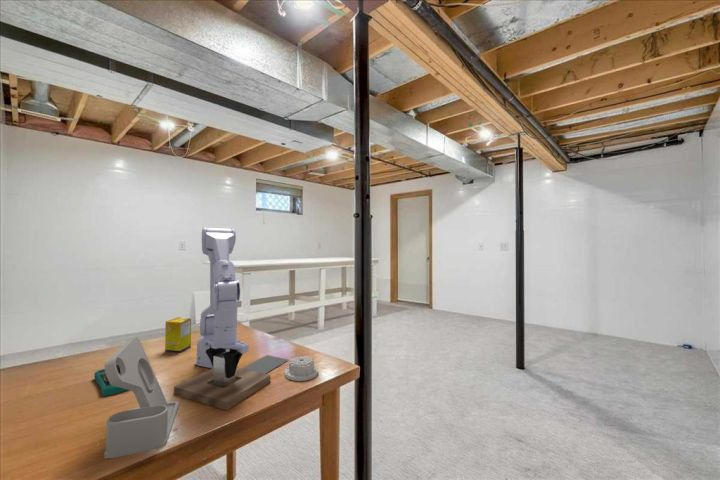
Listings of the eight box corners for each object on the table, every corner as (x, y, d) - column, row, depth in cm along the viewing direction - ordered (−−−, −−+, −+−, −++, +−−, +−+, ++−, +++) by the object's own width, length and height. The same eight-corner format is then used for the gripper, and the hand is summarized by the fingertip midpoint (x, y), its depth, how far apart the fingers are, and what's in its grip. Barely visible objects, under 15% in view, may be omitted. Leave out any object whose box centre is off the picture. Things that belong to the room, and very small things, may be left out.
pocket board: (173, 394, 79) (173, 386, 79) (222, 370, 94) (223, 363, 94) (226, 410, 72) (226, 401, 72) (270, 381, 87) (270, 374, 87)
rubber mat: (236, 371, 93) (236, 370, 93) (267, 356, 106) (267, 355, 106) (260, 377, 89) (260, 376, 89) (288, 360, 102) (288, 359, 102)
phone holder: (165, 448, 59) (167, 355, 59) (99, 462, 55) (101, 362, 55) (179, 403, 75) (181, 330, 75) (129, 411, 71) (131, 334, 71)
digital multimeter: (103, 399, 77) (103, 387, 77) (93, 380, 86) (94, 369, 86) (138, 389, 82) (139, 378, 82) (125, 372, 92) (126, 362, 92)
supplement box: (176, 346, 113) (177, 317, 113) (191, 347, 113) (192, 317, 113) (164, 352, 107) (164, 321, 107) (179, 353, 107) (180, 322, 107)
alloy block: (212, 389, 82) (213, 355, 82) (224, 383, 86) (225, 351, 86) (224, 392, 80) (224, 358, 80) (235, 385, 84) (236, 353, 84)
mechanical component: (278, 379, 89) (310, 384, 87) (278, 364, 89) (311, 368, 87) (292, 366, 98) (322, 369, 96) (293, 352, 98) (322, 355, 96)
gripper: (193, 325, 82) (192, 375, 82) (234, 332, 76) (233, 386, 76) (215, 319, 89) (214, 366, 89) (254, 325, 83) (253, 375, 83)
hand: (224, 375), depth 83 cm, fingers closed on alloy block, 4 cm apart
